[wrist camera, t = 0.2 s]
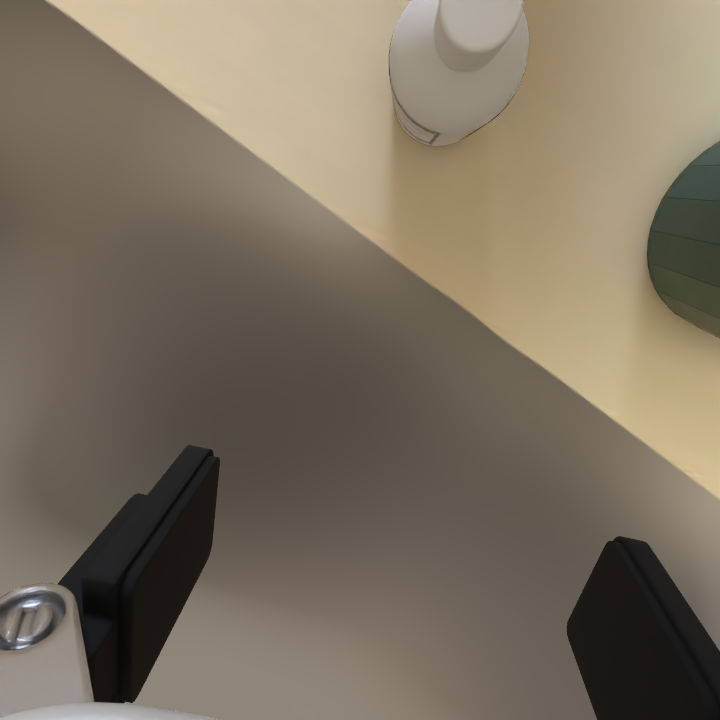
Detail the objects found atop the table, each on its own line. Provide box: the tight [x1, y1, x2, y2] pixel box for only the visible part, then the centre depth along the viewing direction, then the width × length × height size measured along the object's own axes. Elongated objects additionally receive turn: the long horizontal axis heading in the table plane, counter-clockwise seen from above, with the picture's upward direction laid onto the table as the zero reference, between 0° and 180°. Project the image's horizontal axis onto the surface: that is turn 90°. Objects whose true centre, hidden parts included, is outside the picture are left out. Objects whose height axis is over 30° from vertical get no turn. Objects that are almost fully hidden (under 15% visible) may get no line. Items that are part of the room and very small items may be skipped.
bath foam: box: [389, 0, 529, 146], centre depth 26 cm, size 7×7×20 cm
